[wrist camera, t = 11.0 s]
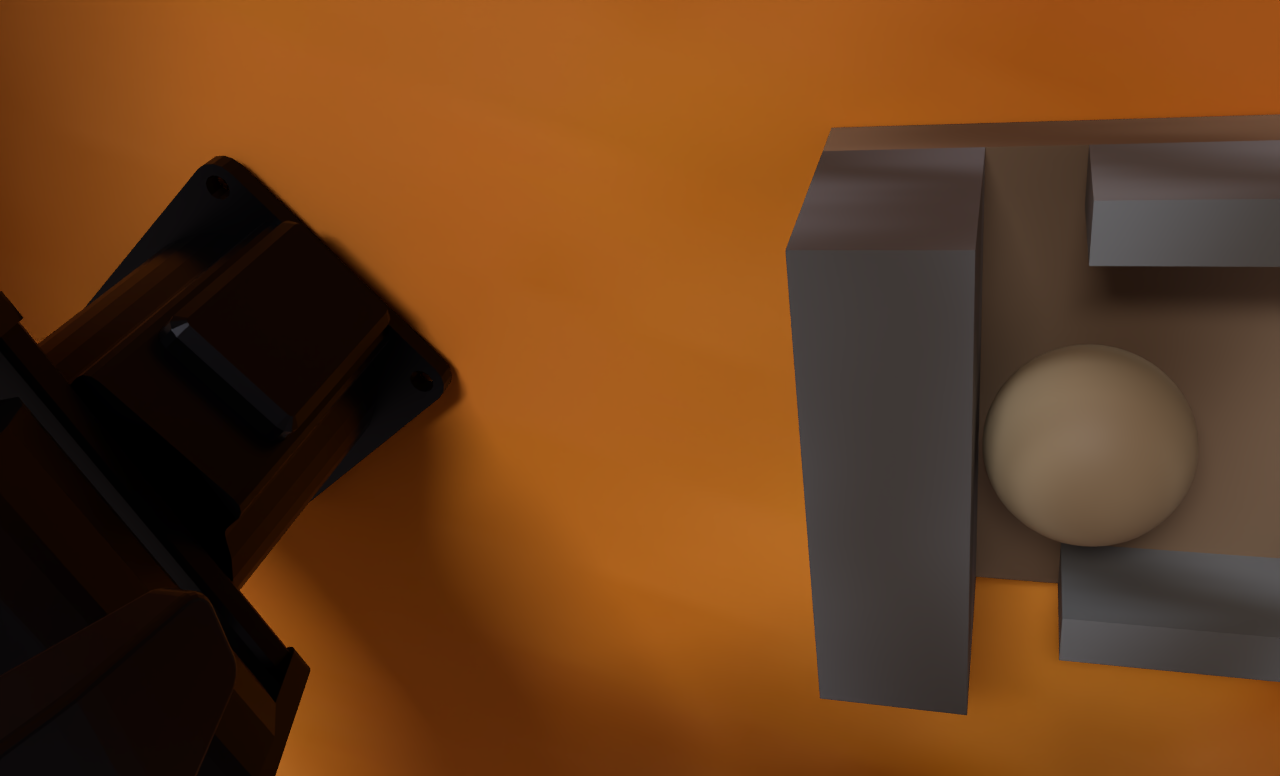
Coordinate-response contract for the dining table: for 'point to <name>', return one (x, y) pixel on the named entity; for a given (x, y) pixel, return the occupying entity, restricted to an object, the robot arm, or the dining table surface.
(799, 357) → the press base
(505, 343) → the dining table surface
